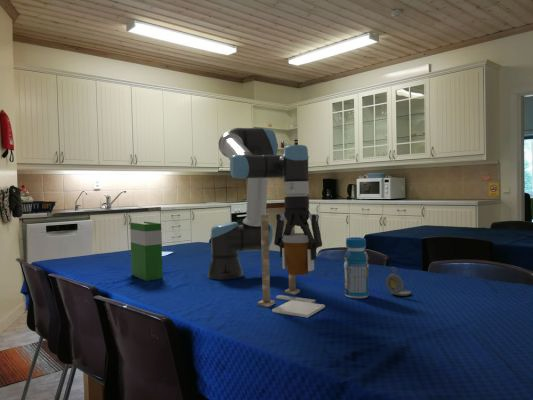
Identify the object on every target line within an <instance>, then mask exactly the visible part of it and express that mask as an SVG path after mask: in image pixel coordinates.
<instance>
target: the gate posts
mask: <svg viewBox="0 0 533 400" xmlns="http://www.w3.org/2000/svg"><path fill="white" fill-rule="evenodd" d="M268 221H269V215H267V214H266V215H262V216H261V244H262V250H261V274H262V275H261V276H262V277H261V278H262V280H261V282H262V283H261V286H262V300H259V301H257V305H258V306H260V307H261V306H262V307H265V308H266V307H268V308H269V307H272V306H273V305H275V304H276V300H272V299H271V288H270V287H271V285H270V284H271V283H270V282H271V280H270V279H271V278H270V273H271V272H270V247H269V227H268ZM291 233H295V226H294V227H293V229H292V231H291ZM296 287H297V286H296V275H290V274H288V288H287V289H285V290H284V294H287V295H297V294H298V293H301V289H300V288H296Z"/></svg>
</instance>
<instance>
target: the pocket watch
mask: <svg viewBox="0 0 533 400" xmlns="http://www.w3.org/2000/svg"><path fill="white" fill-rule="evenodd" d="M390 270H391V271H392V272H393V273H390V274H389V275H388V276H387V277H386V279H385V285H386V288H387V290H388V291H389V293H390V294H392V295H395V296H400V297H404V296H409V295H411V293H412V292H411V291H410V290H408V289H404V280H403V279H402V277H401V276H399V275H398V274H396V272H398V269H397V268H396V267H394V266H391V267H390Z"/></svg>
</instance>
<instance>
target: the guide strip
mask: <svg viewBox="0 0 533 400" xmlns="http://www.w3.org/2000/svg"><path fill="white" fill-rule="evenodd" d="M275 298H276V299H277V300H282V301H283V300H284V301H290V300H294V301H301V302H308V303H316V301H317V299H311V298H304V297H297V296H289V295H282V294H277V295H276V296H275Z"/></svg>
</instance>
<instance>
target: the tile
mask: <svg viewBox="0 0 533 400" xmlns="http://www.w3.org/2000/svg"><path fill="white" fill-rule="evenodd" d="M325 307H326V305H325V304H322V303H321V304H320V303H316V302H315V303H308V302H301V301H294V300H287V302H285V303H283V304H280V305H279V306H276V307H274V308H272V309H271V311H272V313H277V314H283V315H290V316H296V317H303V318H309V317H311V316H313V315H315V314H317V312H319V311H321V310H322V309H324V308H325Z"/></svg>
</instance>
